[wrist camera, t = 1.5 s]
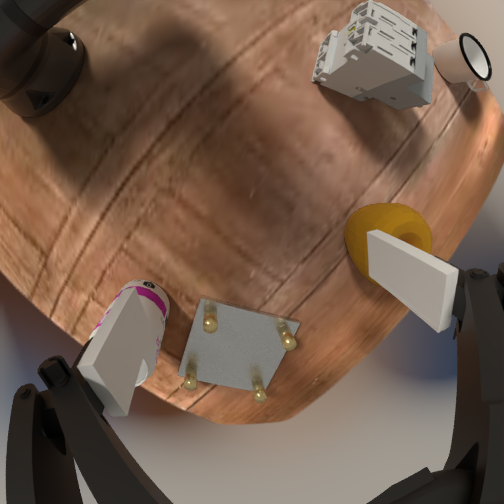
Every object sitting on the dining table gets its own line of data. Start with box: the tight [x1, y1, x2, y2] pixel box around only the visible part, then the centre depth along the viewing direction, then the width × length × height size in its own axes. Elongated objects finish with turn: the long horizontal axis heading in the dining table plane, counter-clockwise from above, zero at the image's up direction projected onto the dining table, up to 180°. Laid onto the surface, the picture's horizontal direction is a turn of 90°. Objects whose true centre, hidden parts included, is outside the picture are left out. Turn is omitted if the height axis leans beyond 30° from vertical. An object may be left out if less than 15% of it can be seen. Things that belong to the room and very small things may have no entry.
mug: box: [433, 33, 492, 92], centre depth 29 cm, size 12×10×9 cm
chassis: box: [178, 295, 300, 403], centre depth 42 cm, size 16×16×5 cm
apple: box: [344, 203, 432, 287], centre depth 34 cm, size 11×11×13 cm
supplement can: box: [89, 279, 170, 386], centre depth 32 cm, size 8×8×15 cm
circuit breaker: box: [311, 0, 434, 110], centre depth 26 cm, size 8×14×15 cm, turn 75°
